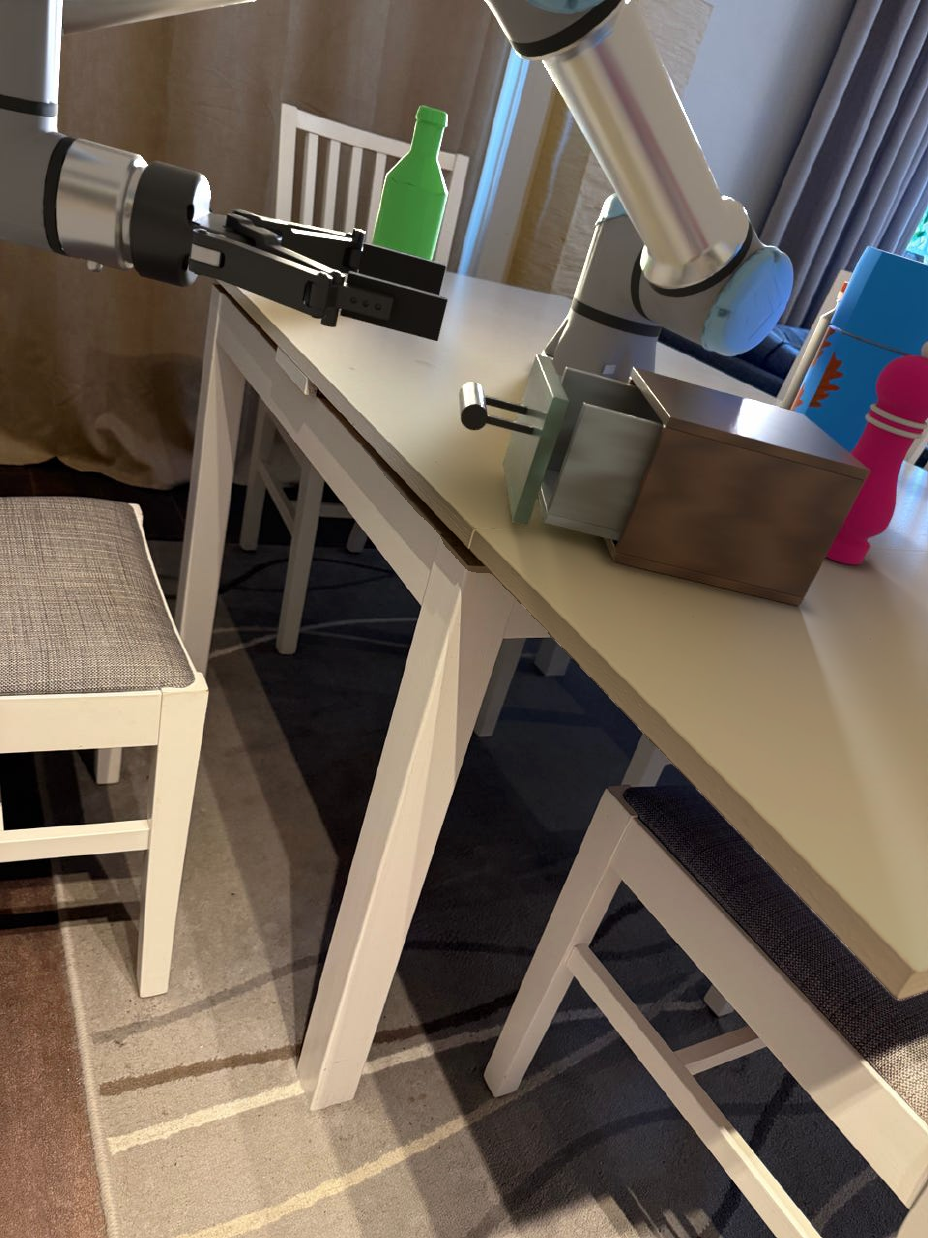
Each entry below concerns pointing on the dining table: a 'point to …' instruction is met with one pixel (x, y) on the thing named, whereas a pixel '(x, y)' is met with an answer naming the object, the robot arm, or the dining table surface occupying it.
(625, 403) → the drawer
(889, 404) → the pepper mill
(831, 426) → the blue carton
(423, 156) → the bottle
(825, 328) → the vinegar
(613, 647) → the dining table surface
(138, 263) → the robot arm
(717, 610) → the dining table surface
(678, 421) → the drawer box
